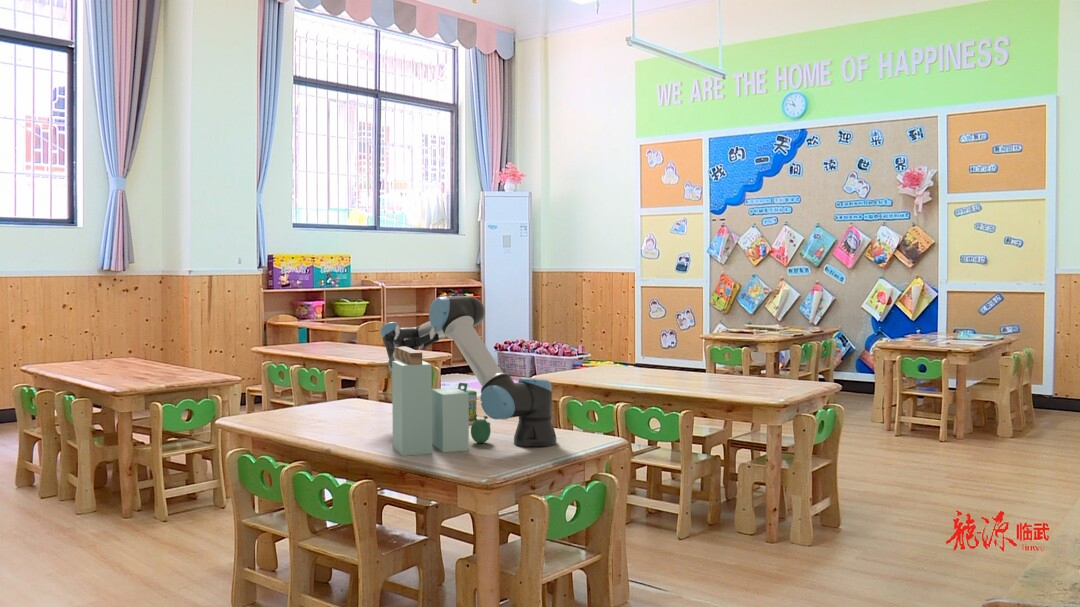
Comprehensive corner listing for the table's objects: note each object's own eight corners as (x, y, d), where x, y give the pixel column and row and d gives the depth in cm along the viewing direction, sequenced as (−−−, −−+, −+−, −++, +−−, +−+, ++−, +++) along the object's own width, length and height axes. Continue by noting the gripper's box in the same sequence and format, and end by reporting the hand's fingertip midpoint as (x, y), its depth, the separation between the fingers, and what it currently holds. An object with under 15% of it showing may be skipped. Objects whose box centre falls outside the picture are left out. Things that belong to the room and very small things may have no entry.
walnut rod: (422, 364, 295) (422, 352, 295) (410, 365, 293) (410, 353, 293) (406, 357, 317) (405, 346, 317) (394, 358, 316) (394, 346, 316)
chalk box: (445, 419, 363) (445, 383, 363) (461, 416, 370) (461, 381, 370) (461, 422, 357) (461, 385, 357) (477, 418, 365) (477, 383, 364)
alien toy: (494, 441, 317) (494, 413, 317) (485, 445, 310) (484, 417, 310) (477, 440, 320) (477, 412, 320) (467, 444, 313) (467, 415, 312)
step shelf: (469, 450, 302) (468, 362, 300) (402, 455, 293) (401, 365, 292) (456, 442, 316) (456, 358, 315) (392, 447, 308) (391, 360, 306)
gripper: (437, 359, 344) (451, 337, 327) (373, 361, 335) (383, 338, 317) (435, 341, 347) (448, 319, 330) (371, 342, 338) (381, 319, 320)
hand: (416, 328), depth 323 cm, fingers open, 13 cm apart
